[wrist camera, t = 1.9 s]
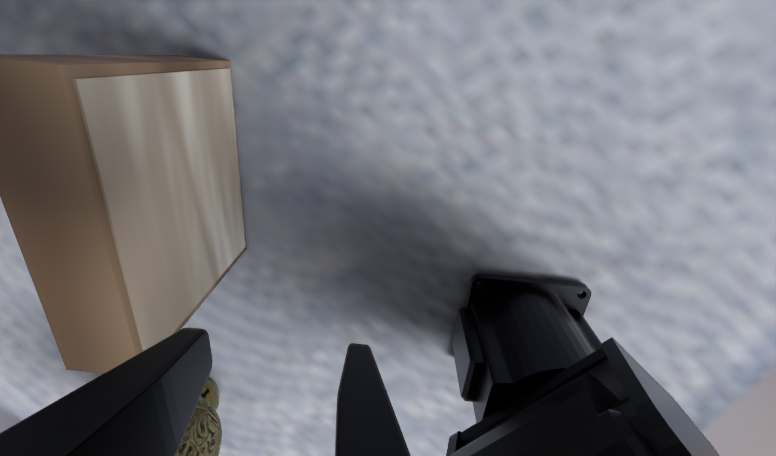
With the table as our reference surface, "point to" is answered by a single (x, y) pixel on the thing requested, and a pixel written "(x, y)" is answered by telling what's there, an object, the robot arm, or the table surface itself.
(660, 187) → the table surface
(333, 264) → the table surface
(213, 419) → the cup
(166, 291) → the wooden block
